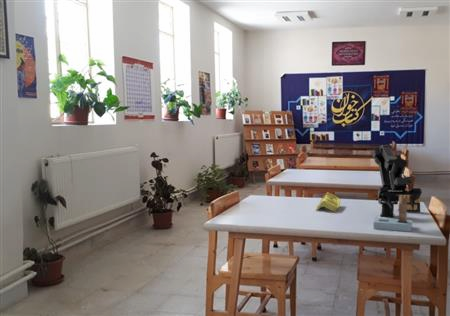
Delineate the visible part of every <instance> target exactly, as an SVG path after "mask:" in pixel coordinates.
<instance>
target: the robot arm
mask: <svg viewBox="0 0 450 316" xmlns="http://www.w3.org/2000/svg"><path fill="white" fill-rule="evenodd" d="M372 158H373V159H374V162H375V164H377V165H378V169H379V174H380V179H381V187H379V189H378V191H377V199H378V200H377V201H378V202H377V203H378V204H379V205H381V213H380V217H384V218H387V217H388V218H394V217H395V215H396V214H395V213H394V211H395V210H394V209H395V208H394V207H395V206H394V205H399V196H400V195H402V196H403V195H406V196H407V195H409V202H410V203H411V207H412V209H413V208H414V203H415V200H416V201H417V199H419V198H420V199H421V195H422V193H423V191H422V189H421V187H411V189H410V190H409V191H407V190H406V189H407V188H408V185H411V184H412V176H406V177H404V176H403V174H404V172H405V170H406V167H407V164H408V163H407V161H406V160H405V159H404V158H402V156H395V154H394V152H393V150H392V148H391V145H387V144H385V145H384V144H383V145H382V144H381V145H380V146H379V147H377V148H374V149H373V152H372Z"/></svg>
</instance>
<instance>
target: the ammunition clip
mask: <svg viewBox="0 0 450 316" xmlns="http://www.w3.org/2000/svg"><path fill="white" fill-rule="evenodd" d="M406 191H410V190H409V189H407V190H406ZM400 197H405V198H407V213H421V197H420V198H419V199H417V200H415V203H414V208H413V209H412V207H411V203H410V195H399V198H400ZM399 198H398V199H399ZM397 211H398V212H399V209H398V210H397Z"/></svg>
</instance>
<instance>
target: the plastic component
mask: <svg viewBox="0 0 450 316" xmlns="http://www.w3.org/2000/svg"><path fill="white" fill-rule="evenodd" d="M340 205H341V199H340V198H339V197H338V196H337V195H335V194H333V193H330V192H326V193H325V194H324V195H323V196H322V198H321V200H319V203H318V204H317V206H316V208H315V211H319V210H320V209H321V208H322V207H323V208H325V209H328V210H330V211H331V212H335V211H336V212H337V211H338V209H339V207H340ZM336 212H335V213H336Z"/></svg>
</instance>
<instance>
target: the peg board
mask: <svg viewBox="0 0 450 316" xmlns="http://www.w3.org/2000/svg"><path fill="white" fill-rule="evenodd" d="M373 229H375V230H387V231H388V230H389V231H397V230H398V231H399V232H400V231H401V232H409V231H411V232H412V231H413V230H412V229H413V220H411V219H406V223H399V218H387V217H375V218H374V221H373ZM398 231H397V232H398Z"/></svg>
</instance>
